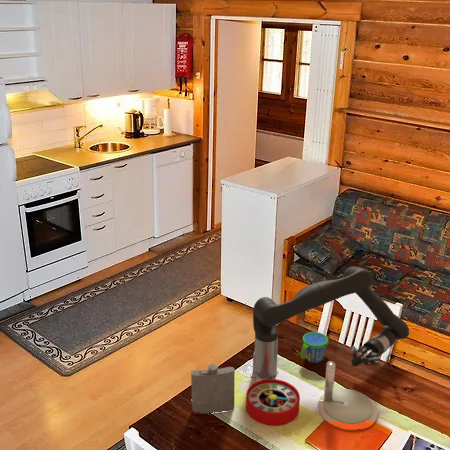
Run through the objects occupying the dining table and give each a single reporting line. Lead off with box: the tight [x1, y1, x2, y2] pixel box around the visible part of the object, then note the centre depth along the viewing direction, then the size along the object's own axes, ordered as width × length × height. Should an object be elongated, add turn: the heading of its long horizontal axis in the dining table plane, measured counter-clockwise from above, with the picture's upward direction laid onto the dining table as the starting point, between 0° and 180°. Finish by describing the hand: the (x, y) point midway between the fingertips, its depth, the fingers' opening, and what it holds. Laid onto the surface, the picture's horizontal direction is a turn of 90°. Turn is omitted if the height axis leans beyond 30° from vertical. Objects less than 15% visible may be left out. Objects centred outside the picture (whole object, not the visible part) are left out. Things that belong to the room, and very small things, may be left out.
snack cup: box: [299, 331, 330, 364], centre depth 243 cm, size 16×10×10 cm
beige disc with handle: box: [323, 360, 373, 424], centre depth 210 cm, size 18×18×17 cm
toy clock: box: [245, 378, 301, 427], centre depth 214 cm, size 20×6×20 cm
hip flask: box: [190, 363, 236, 413], centre depth 210 cm, size 16×4×20 cm, turn 99°
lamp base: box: [317, 393, 379, 423], centre depth 214 cm, size 22×22×1 cm
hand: (353, 364), depth 224 cm, fingers closed
